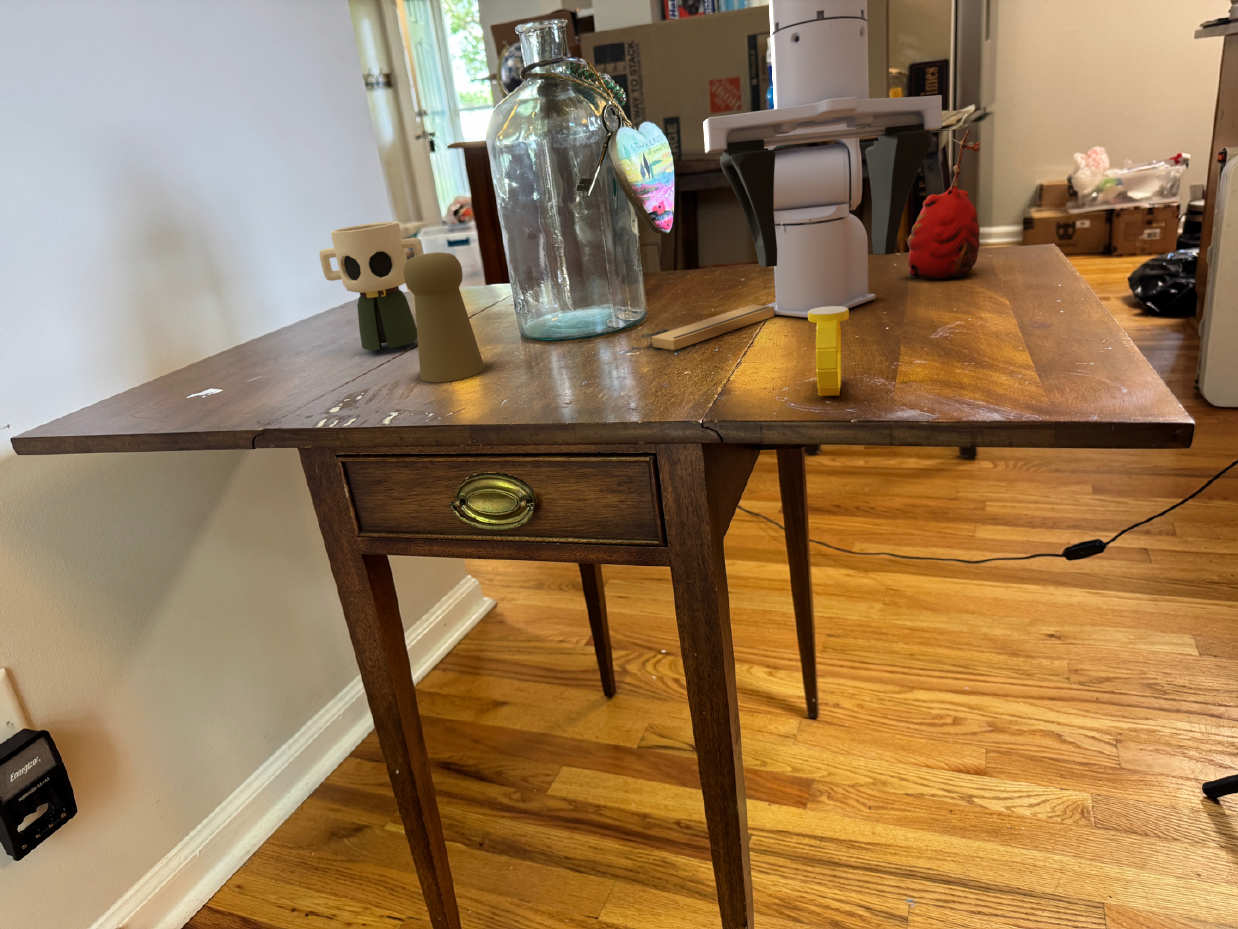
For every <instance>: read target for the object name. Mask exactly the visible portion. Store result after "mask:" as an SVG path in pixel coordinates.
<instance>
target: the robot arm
mask: <svg viewBox="0 0 1238 929" xmlns="http://www.w3.org/2000/svg"><path fill="white" fill-rule="evenodd" d="M768 4H769V6H768V7H769V26H770V27H769V28H770V46H771V48H770V49H771V67H772V68H771V69H772V85H773V86H772V88H773V90H772V91H773V105H774V106H773V108H771V109H764V110H757V111H749V112H742V113H735V114H728V115H719V116H709V117H708V118H706V119H705V120H704V121H703V123H702V125H703V138H704V139H703V140H704V153H705V154H707V155H708V154H709V155H710V154H716V153H722V155H720V157H719V163H720V167H721V169H722V172H723V174H724V176H725V178H726V180H727V181H728V183H729V184H730V186H731V188H732V191H733V192H734V194H735V197H736V198H737V200H738V203H739V205H740V207H741V209H742V211H743V215H744V216H745V219H746V221H747V224H748V228H749V230H750V234H751V236H752V237H751V238H752V239H753V243H754V247H755V251H756V255H757V261H758V266H759V267H761V268H771V267H773V273H774V274H773V275H774V293H775V294H774V295H775V301H774V302H771V303H769V304H766V305H764V306H773V307H774V315H777V316H789V317H795V318H796V317H798V318H805V319H806V318H807V319H808V311H809V310H811V309H814V308H820V307H829V306H840V307H846V308H848V309H850V308H853V307H857V306H859V305H863V304H864V303H867V302H870V301H872V300H875V299H876V294H875V293H869V245H868V244H869V240H868V235H867V230H866V228H865V226H864V224H863V223H862V221H861V220H860V219H859V218H858V217H857V216H855V215H854V214H853V213H850V211H855V210H856V209H857V207H858V206H859V205H860V204H861V202H862V196H863V164H862V153H861V146H860V138H869V137H877V138H878V139H874V140H873V145H870V146H868V147H867V148H866V149H865V151H864V153H865V158H866V164H867V169H868V170H867V171H868V177H869V183H870V184H869V185H870V194H871V245H872V252H873V255H878V256H879V255H881V256H886V255H894V254H896V250H897V242H898V238H899V232H900V227H901V223H902V219H903V216H904V212H905V209H906V205H907V202H908V199H909V197H910V193H911V190H912V188H913V185H914V183H915V180H916V178H917V175H918V173H919V170H920V169H921V167H922V164H923V162H924V160H925V158H926V157H927V154H928V152H929V151H930V149H931V146H932V142H933V131H936V130H939V129H941V128H943V105H942V104H943V96H942V95H941V94H938V95H927V96H926V95H924V96H907V97H906V96H905V97H882V98H880V97H879V98H870V92H869V90H870V89H869V88H870V87H869V85H870V84H869V39H868V38H869V36H868V35H869V33H868V32H869V30H868V29H869V28H868V0H768ZM826 141H827V142H828V141H836V142H839V143H833V144H826V145H817V146H808V147H801V148H792V149H784V150H776V151H774V149H775V148H777V147H779V146H786V145H787V146H788V145H796V144H797V145H798V144H808V143H819V142H826Z"/></svg>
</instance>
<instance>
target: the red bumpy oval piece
mask: <svg viewBox="0 0 1238 929" xmlns="http://www.w3.org/2000/svg"><path fill="white" fill-rule="evenodd" d="M971 132H972V129H970V128H968V129H967V130H966V132H965V134H964V137H963V139H962V140H960V141H958V140H957V139H955V138H952V139H951V141H952V142H953V143H956V144H958V145H959V152H958V156H957V163H956V165H954V166H953V167H952V170H953V172H954V177H953V180H952V183H951V185H950V187H949V188H948V189H947V190H946V191H945V192H943V193H941V194H935V193H933V194H930V195H928V196H927V197H926V199H925V200H923V202H922V208H921V210H920V213H919V215H918V216H917V218H916V221H915V223H914V225H912V228H911V233H910V235H909V236H908V238H907V245H908V247H909V252H908V256H907V262H908V267H909V269H908V276H909V277H911V278H919V279H921V278H924V279H927V280H935V281H936V280H937V281H938V280H945V279H946V280H947V279H955V278H960V277H963V276H966V275H968V274H970V272H971V271H972V269H973V268H974V266H975V265H976V263H977V260H978V255H979V254H978V253H979V250H980V244H981V243H980V224H979V219H978V211H977V209H976V208H975V206H974V204H973V202H971V200H970V197H969V192H968V191H966V190H964V189H963V190H962V189H959V176H960V173H961V163H962V160H963V154H964V151H965V150H968V151H969V150H970V151H972V152H975V153H977V152H979V151H980V149H981V143H980V141H978V142H976V143H975V142H971V141H970V142H968V139H967V137H968V136H969V134H970V133H971Z"/></svg>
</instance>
